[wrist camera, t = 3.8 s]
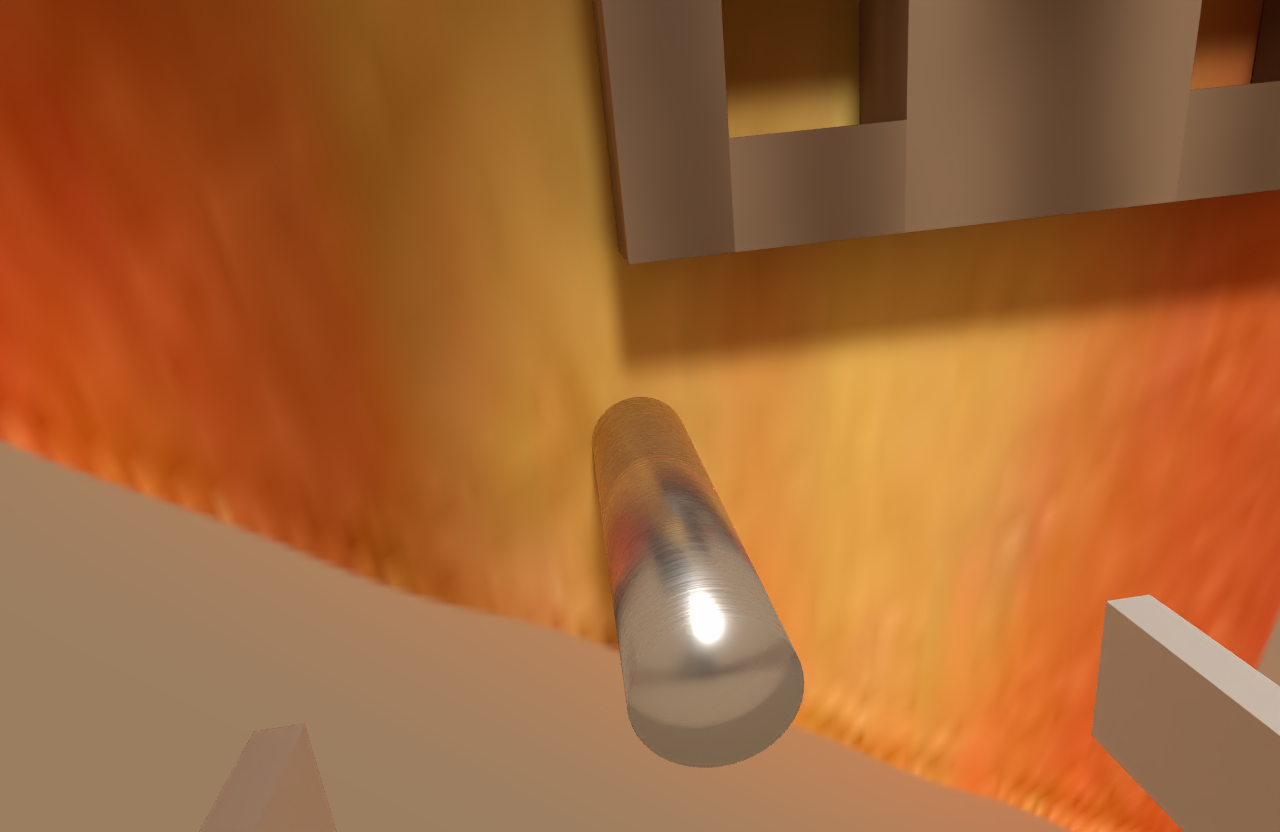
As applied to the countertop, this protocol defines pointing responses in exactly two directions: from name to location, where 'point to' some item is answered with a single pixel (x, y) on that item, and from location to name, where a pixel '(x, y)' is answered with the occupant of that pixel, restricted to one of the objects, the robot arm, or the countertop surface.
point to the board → (929, 123)
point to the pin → (687, 599)
